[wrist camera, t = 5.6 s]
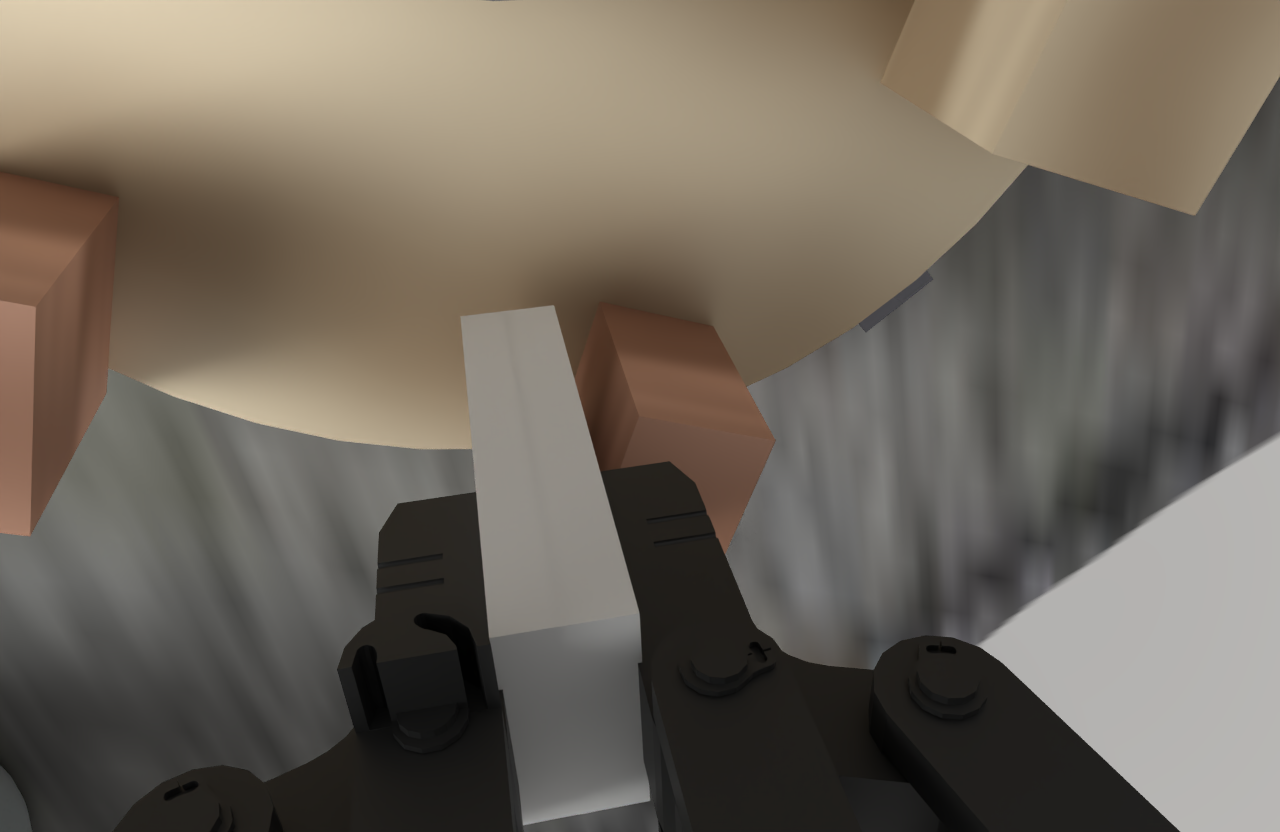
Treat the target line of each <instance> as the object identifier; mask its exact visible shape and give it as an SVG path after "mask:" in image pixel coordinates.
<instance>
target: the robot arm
mask: <svg viewBox="0 0 1280 832" xmlns="http://www.w3.org/2000/svg"><path fill="white" fill-rule="evenodd" d="M460 317H461V328H462V340H463V351H464V362H465V373H466V384H467V396H468V407H469V418H470V429H471V440H472V452H473V463H474V474H475V485H476V492H474V493H467V494H460V495H453V496H447V497H440V498H433V499H426V500H419V501H412V502H406V503H399V504H397V506H396V507H395V509H394V510H393V512H392V513H391V515H390V516H389V518H388V520H387V521H386V523H385V524H384V526H383V527H382V529H381V531H380V532H379V546H378V569H377V595H376V609H375V620H374V621H373V622H371V623H369V624H368V625H366V626H364V627H363V628H362V629H361V630H360V631H359V632H358V633H357V634H356V635H355V637H354V638H353V639H352V640H351V641H350V642H349V643H348V644H347V646H346V647H345V648H344V651H343V654H342V657H341V660H340V663H339V665H338V668H337V671H338V674H339V678H340V681H341V685H342V688H343V691H344V695H345V698H346V702H347V705H348V708H349V712H350V715H351V719H352V722H353V725H354V728H353V729H352V730H351V731H350V733H349V734H348V735H347V736H346V737H345V738H344V739H343V740H341V741H340V742H339V743H338V744H337V745H335V746H334V747H333V748H332V749H330V750H329V751H328V752H326V753H324V754H323V755H321V756H319V757H317V758H315V759H314V760H312V761H310V762H308V763H306V764H304V765H302V766H300V767H298V768H296V769H293V770H291V771H289V772H287V773H285V774H282V775H280V776H278V777H276V778H274V779H271V780H269V781H267V782H265V783H263V782H262V781H261V780H260V779H258V778H257V777H256V776H255V775H253V774H252V773H251V772H250V771H248V770H244V769H239V768H234V767H229V766H224V765H221V766H214V767H207V768H200V769H193V770H191V771H188V772H186V773H184V774H181V775H179V776H177V777H175V778H172V779H170V780H168V781H165V782H163V783H161V784H160V785H159V786H157V787H156V788H155V789H153V790H152V791H151V792H149V793H148V794H147V795H145V796H144V797H143V798H142V799H140V800H139V801H138V802H136V803H135V804H134V805H133V806H132V808H131V809H130V810H129V811H128V813H127V814H126V815H125V817H124V818H123V819H122V820H121V822H120V823H119V824H118V826H117V827H116V828H115V829H114V831H113V832H524V829H523V825H527V824H532V823H537V822H542V821H547V820H552V819H557V818H563V817H568V816H573V815H578V814H585V813H590V812H595V811H600V810H605V809H610V808H616V807H621V806H626V805H631V804H636V803H641V802H646V801H650V792H649V785H650V789H651V793H652V798H653V802H654V806H655V810H656V814H657V818H658V824H659V832H1180V831H1179V830H1178V829H1177V828H1176V827H1175V826H1174V825H1172V824H1171V823H1170V822H1169V821H1168V820H1167V819H1166V818H1165V817H1164V816H1163V815H1162V814H1161V813H1160V812H1159V811H1158V810H1157V809H1156V808H1155V807H1154V806H1152V805H1151V804H1150V803H1149V802H1148V801H1147V800H1146V799H1145V798H1144V797H1143V796H1142V795H1141V794H1140V793H1139V792H1138V791H1136V789H1135V788H1133V787H1132V786H1131V785H1130V784H1129V783H1128V782H1127V781H1126V780H1125V779H1124V778H1123V777H1122V776H1121V775H1120V774H1119V773H1118V772H1117V771H1116V770H1115V769H1113V768H1112V767H1111V766H1110V765H1109V764H1108V763H1107V762H1106V761H1105V760H1104V759H1103V758H1102V757H1101V756H1100V755H1099V754H1098V753H1097V752H1096V751H1094V750H1093V749H1092V748H1091V747H1090V746H1089V745H1088V744H1087V743H1086V742H1085V741H1084V740H1083V739H1082V738H1081V737H1080V736H1079V735H1078V734H1076V733H1075V732H1074V731H1073V730H1072V729H1071V728H1070V727H1069V726H1068V725H1067V724H1066V723H1065V722H1064V721H1063V720H1062V719H1061V718H1060V717H1059V716H1057V715H1056V714H1055V713H1054V712H1053V711H1052V710H1051V709H1050V708H1049V707H1048V706H1047V705H1046V704H1045V703H1044V702H1043V701H1042V700H1041V699H1040V698H1039V697H1037V696H1036V695H1035V694H1034V693H1033V692H1032V691H1031V690H1030V689H1029V688H1028V687H1027V686H1026V685H1025V684H1024V683H1023V682H1022V681H1020V680H1019V678H1017V677H1016V676H1015V675H1014V674H1013V673H1012V672H1011V671H1010V670H1009V669H1008V668H1007V667H1006V666H1005V665H1004V664H1003V663H1001V662H1000V661H999V660H997V659H996V658H994V657H993V656H991V655H990V654H989V653H987V652H986V651H984V650H983V649H981V648H980V647H978V646H975V645H972V644H969V643H966V642H963V641H961V640H958V639H955V638H950V637H938V636H921V637H916V638H912V639H907V640H902V641H900V642H898V643H897V644H896V645H894V646H893V647H891V648H890V649H888V650H887V651H885V652H884V653H883V654H882V655H881V657H880V659H879V661H878V663H877V665H876V667H875V669H874V670H868V669H857V668H845V667H834V666H826V665H820V664H815V663H809V662H806V661H803V660H801V659H798V658H795V657H793V656H790V655H788V654H786V653H785V652H783V651H781V649H780V648H779V646H778V645H777V644H776V642H775V641H774V640H773V638H771V637H770V636H768V635H766V634H765V633H763V632H762V631H760V630H758V629H757V628H756V626H755V624H754V623H753V621H752V619H751V617H750V614H749V612H748V610H747V607H746V605H745V602H744V600H743V597H742V595H741V593H740V590H739V588H738V585H737V583H736V580H735V578H734V576H733V573H732V571H731V568H730V566H729V563H728V561H727V559H726V556H725V554H724V551H723V549H722V546H721V544H720V542H719V539H718V538H716V532H715V529H714V527H713V525H712V522H711V520H710V517H709V515H707V511H706V508H705V505H704V503H703V500H702V498H701V495H700V493H699V491H698V488H697V486H696V483H695V482H694V481H693V480H691V479H690V478H689V477H688V476H687V475H685V474H684V473H683V472H682V471H681V470H679V469H678V468H677V467H676V466H675V465H673V464H672V463H671V462H670V461H667V462H661V463H654V464H647V465H640V466H633V467H627V468H620V469H613V470H606V471H600V469H599V466H598V462H597V458H596V455H595V451H594V448H593V444H592V440H591V437H590V433H589V430H588V426H587V422H586V419H585V415H584V412H583V408H582V404H581V401H580V397H579V394H578V390H577V386H576V383H575V379H574V376H573V372H572V368H571V365H570V361H569V358H568V354H567V351H566V347H565V343H564V340H563V336H562V333H561V329H560V325H559V322H558V318H557V315H556V311H555V307H554V305H551V306H543V307H535V308H526V309H518V310H509V311H501V312H492V313H484V314H476V315H468V316H460Z"/></svg>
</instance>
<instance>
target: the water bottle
mask: <svg viewBox="0 0 1280 832" xmlns="http://www.w3.org/2000/svg"><path fill="white" fill-rule="evenodd" d="M0 832H32V828H31V823H30V819H29V814H28V809H27V806H26V804H25V801H24V798H23V797H22V795H21V793H20V791H19V790H18V788H17V786H16V784H15V782H14V781H13V779H12V777H11V776H10V775H9V774H8V773H7V772H6V771H5V769H4V768H3V767H2V766H1V765H0Z"/></svg>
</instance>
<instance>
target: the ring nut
mask: <svg viewBox="0 0 1280 832" xmlns="http://www.w3.org/2000/svg"><path fill="white" fill-rule="evenodd" d="M1279 77H1280V0H0V533H6V534H15V535H23V536H30V535H31V534H32V532H33V530H34V528H35V526H36V524H37V522H38V520H39V519H40V517H41V515H42V513H43V511H44V509H45V507H46V505H47V504H48V502H49V500H50V498H51V496H52V494H53V492H54V490H55V489H56V487H57V485H58V483H59V481H60V479H61V477H62V475H63V474H64V472H65V470H66V468H67V466H68V464H69V462H70V460H71V459H72V457H73V455H74V453H75V451H76V449H77V447H78V445H79V444H80V442H81V440H82V438H83V436H84V434H85V432H86V430H87V429H88V427H89V425H90V423H91V421H92V419H93V417H94V415H95V414H96V412H97V410H98V408H99V406H100V404H101V402H102V400H103V399H104V397H105V395H106V392H107V376H108V368H109V369H112V370H114V371H116V372H119V373H121V374H123V375H125V376H128V377H130V378H132V379H135V380H137V381H139V382H141V383H144V384H146V385H148V386H150V387H153V388H155V389H157V390H160V391H162V392H164V393H166V394H169V395H171V396H174V397H177V398H180V399H183V400H186V401H189V402H192V403H196V404H199V405H202V406H205V407H208V408H211V409H214V410H217V411H220V412H223V413H227V414H230V415H233V416H236V417H239V418H242V419H245V420H248V421H251V422H255V423H258V424H263V425H267V426H272V427H277V428H282V429H286V430H291V431H296V432H301V433H305V434H310V435H315V436H319V437H324V438H329V439H334V440H338V441H347V442H356V443H366V444H376V445H385V446H395V447H405V448H414V449H472V440H471V429H470V418H469V407H468V396H467V384H466V373H465V362H464V351H463V340H462V328H461V317H460V316H468V315H476V314H484V313H492V312H501V311H509V310H518V309H526V308H535V307H543V306H551V305H554V307H555V311H556V315H557V318H558V322H559V325H560V329H561V333H562V336H563V340H564V343H565V347H566V351H567V354H568V358H569V361H570V365H571V368H572V372H573V376H574V379H575V383H576V386H577V390H578V394H579V397H580V401H581V404H582V408H583V412H584V415H585V419H586V422H587V426H588V430H589V433H590V437H591V440H592V444H593V448H594V451H595V455H596V458H597V462H598V466H599V469H600V471H606V470H613V469H620V468H627V467H633V466H640V465H647V464H654V463H661V462H667V461H670V462H671V463H672V464H673V465H675V466H676V467H677V468H678V469H679V470H681V471H682V472H683V473H684V474H685V475H687V476H688V477H689V478H690V479H691V480H693V481H694V482H695V483H696V486H697V488H698V491H699V493H700V495H701V498H702V500H703V503H704V505H705V508H706V511H707V515H709V517H710V520H711V522H712V525H713V527H714V529H715V532H716V538H718V539H719V542H720V544H721V546H722V549H723V551H724V554H725V553H726V551H727V549H728V546H729V544H730V542H731V540H732V537H733V535H734V533H735V531H736V528H737V526H738V524H739V522H740V520H741V517H742V515H743V513H744V511H745V508H746V506H747V504H748V502H749V499H750V497H751V495H752V493H753V490H754V488H755V486H756V484H757V481H758V479H759V477H760V475H761V473H762V470H763V468H764V466H765V464H766V461H767V459H768V457H769V455H770V452H771V450H772V448H773V446H774V443H775V439H774V437H773V435H772V433H771V431H770V430H769V428H768V426H767V424H766V422H765V420H764V418H763V417H762V415H761V413H760V411H759V409H758V407H757V406H756V404H755V402H754V400H753V398H752V396H751V395H750V393H749V391H748V389H747V386H749V385H751V384H753V383H755V382H757V381H760V380H762V379H764V378H766V377H768V376H770V375H772V374H775V373H777V372H779V371H781V370H783V369H785V368H787V367H789V366H791V365H792V364H794V363H796V362H797V361H799V360H801V359H802V358H804V357H805V356H807V355H809V354H810V353H812V352H814V351H815V350H817V349H819V348H820V347H822V346H824V345H825V344H827V343H829V342H830V341H832V340H834V339H835V338H837V337H839V336H840V335H842V334H844V333H845V332H847V331H849V330H850V329H852V328H853V327H855V326H856V325H857V324H859V323H860V322H861V321H863V320H864V319H865V318H867V317H868V316H869V315H871V314H872V313H873V312H875V311H876V310H877V309H878V308H880V307H881V306H882V305H884V304H885V303H886V302H888V301H889V300H890V299H892V298H893V297H894V296H896V295H897V294H898V293H900V292H901V291H902V290H904V289H905V288H906V287H908V286H909V285H910V284H912V283H913V282H914V281H916V280H917V279H918V278H919V277H920V276H921V275H922V274H923V273H924V272H925V271H926V270H927V269H928V268H930V267H931V266H932V265H933V264H934V263H935V262H936V261H937V260H938V259H939V258H940V257H941V256H942V255H943V254H945V253H946V252H947V251H948V250H949V249H950V248H951V247H952V246H953V245H954V244H955V243H956V242H957V241H959V240H960V239H961V238H962V237H963V236H964V235H965V234H966V233H967V232H968V231H969V230H970V229H971V228H972V227H974V226H975V225H976V224H977V223H978V221H979V220H980V219H981V218H982V217H983V216H984V215H985V213H986V212H987V211H988V210H989V209H990V208H991V207H992V205H993V204H994V203H995V202H996V201H997V200H998V199H999V197H1000V196H1001V195H1002V194H1003V193H1004V192H1005V191H1006V189H1007V188H1008V187H1009V186H1010V185H1011V184H1012V183H1013V182H1014V180H1015V179H1016V178H1017V177H1018V176H1019V175H1020V174H1021V172H1022V171H1023V170H1024V169H1025V168H1026V167H1027V166H1028V165H1031V166H1034V167H1037V168H1040V169H1044V170H1047V171H1050V172H1053V173H1057V174H1060V175H1063V176H1066V177H1070V178H1073V179H1076V180H1080V181H1083V182H1086V183H1089V184H1093V185H1096V186H1099V187H1102V188H1106V189H1109V190H1112V191H1115V192H1119V193H1122V194H1125V195H1128V196H1132V197H1135V198H1138V199H1142V200H1145V201H1148V202H1151V203H1155V204H1158V205H1161V206H1164V207H1168V208H1171V209H1174V210H1177V211H1181V212H1184V213H1187V214H1190V215H1194V216H1195V215H1196V213H1197V212H1198V210H1199V209H1200V207H1201V205H1202V204H1203V202H1204V200H1205V199H1206V197H1207V195H1208V194H1209V192H1210V190H1211V189H1212V187H1213V185H1214V184H1215V182H1216V181H1217V179H1218V177H1219V176H1220V174H1221V172H1222V171H1223V169H1224V167H1225V166H1226V164H1227V162H1228V161H1229V159H1230V157H1231V156H1232V154H1233V153H1234V151H1235V149H1236V148H1237V146H1238V144H1239V143H1240V141H1241V139H1242V138H1243V136H1244V134H1245V133H1246V131H1247V130H1248V128H1249V126H1250V125H1251V123H1252V121H1253V120H1254V118H1255V116H1256V115H1257V113H1258V111H1259V110H1260V108H1261V106H1262V105H1263V103H1264V102H1265V100H1266V98H1267V97H1268V95H1269V93H1270V92H1271V90H1272V88H1273V87H1274V85H1275V83H1276V82H1277V80H1278V78H1279Z"/></svg>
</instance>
